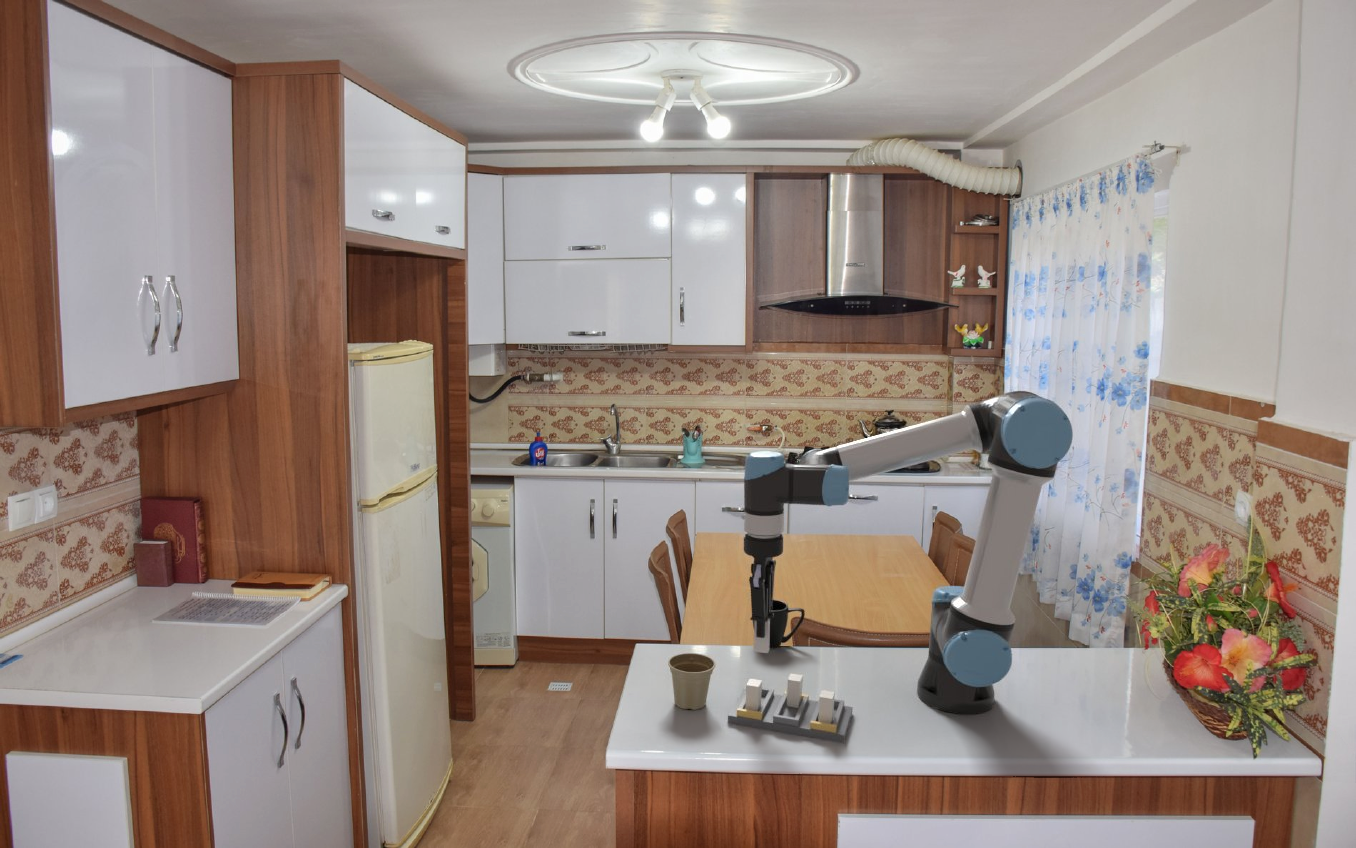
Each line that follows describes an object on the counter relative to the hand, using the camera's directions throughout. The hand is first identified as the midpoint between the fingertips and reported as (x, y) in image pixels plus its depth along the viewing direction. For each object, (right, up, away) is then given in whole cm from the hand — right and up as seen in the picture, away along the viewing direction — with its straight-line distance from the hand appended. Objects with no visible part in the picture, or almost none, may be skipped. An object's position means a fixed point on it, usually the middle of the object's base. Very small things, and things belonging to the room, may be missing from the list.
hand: (761, 650), depth 176 cm
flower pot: (-14, -12, +4) cm, 19 cm away
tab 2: (+7, -11, +2) cm, 13 cm away
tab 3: (+12, -12, -5) cm, 17 cm away
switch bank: (+6, -13, -1) cm, 14 cm away
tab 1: (-2, -11, -1) cm, 11 cm away
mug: (+7, -7, +35) cm, 36 cm away
